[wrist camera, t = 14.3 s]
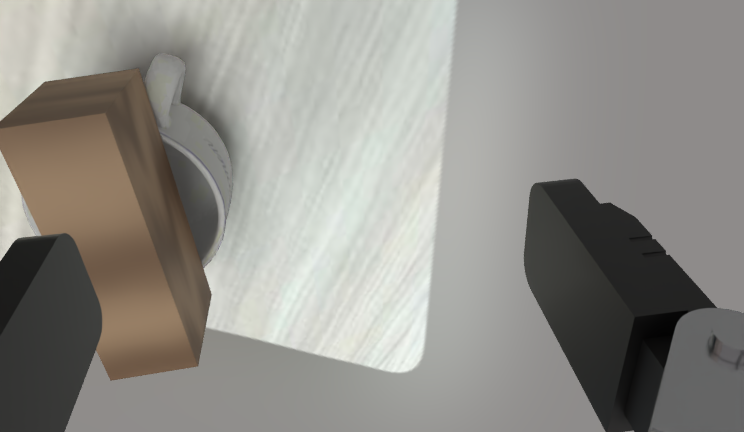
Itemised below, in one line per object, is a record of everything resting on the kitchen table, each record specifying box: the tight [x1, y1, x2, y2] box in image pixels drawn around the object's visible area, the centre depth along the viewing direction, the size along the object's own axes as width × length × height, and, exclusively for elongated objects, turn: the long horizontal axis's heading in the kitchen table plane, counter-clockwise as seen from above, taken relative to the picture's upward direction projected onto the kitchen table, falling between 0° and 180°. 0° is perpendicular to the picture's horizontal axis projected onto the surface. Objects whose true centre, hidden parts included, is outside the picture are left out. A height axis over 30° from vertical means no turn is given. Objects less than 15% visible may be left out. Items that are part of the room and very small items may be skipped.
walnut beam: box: [0, 68, 212, 380], centre depth 30 cm, size 14×4×6 cm, turn 7°
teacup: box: [21, 53, 233, 268], centre depth 36 cm, size 14×11×8 cm
